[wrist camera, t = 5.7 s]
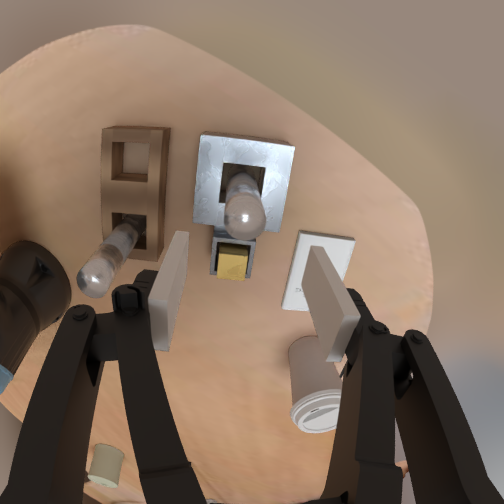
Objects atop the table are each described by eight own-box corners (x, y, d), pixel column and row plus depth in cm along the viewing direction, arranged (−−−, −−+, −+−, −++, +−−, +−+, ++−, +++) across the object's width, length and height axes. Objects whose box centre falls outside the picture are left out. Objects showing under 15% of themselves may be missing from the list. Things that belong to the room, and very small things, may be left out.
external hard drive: (352, 236, 43) (329, 307, 48) (298, 228, 42) (280, 303, 47) (356, 241, 41) (332, 313, 47) (300, 233, 40) (281, 309, 46)
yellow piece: (218, 254, 41) (216, 278, 36) (221, 232, 40) (219, 253, 34) (242, 256, 41) (244, 280, 36) (246, 234, 40) (248, 256, 34)
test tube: (127, 229, 40) (79, 295, 26) (126, 207, 38) (74, 266, 24) (149, 231, 40) (109, 300, 26) (149, 209, 39) (105, 270, 24)
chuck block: (194, 253, 42) (189, 272, 38) (205, 131, 35) (200, 134, 30) (266, 261, 43) (269, 280, 39) (287, 141, 36) (294, 146, 31)
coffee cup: (332, 323, 49) (359, 393, 36) (334, 361, 53) (355, 426, 40) (275, 335, 49) (288, 410, 36) (283, 372, 54) (295, 440, 40)
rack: (163, 247, 41) (157, 261, 38) (114, 242, 41) (104, 255, 37) (170, 127, 34) (163, 130, 31) (114, 126, 33) (102, 128, 30)
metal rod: (226, 186, 38) (221, 238, 24) (229, 161, 37) (226, 198, 22) (252, 189, 38) (262, 242, 24) (255, 164, 37) (269, 203, 23)
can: (98, 452, 71) (91, 483, 60) (92, 440, 67) (83, 473, 56) (125, 460, 72) (120, 491, 62) (122, 448, 68) (115, 482, 58)
